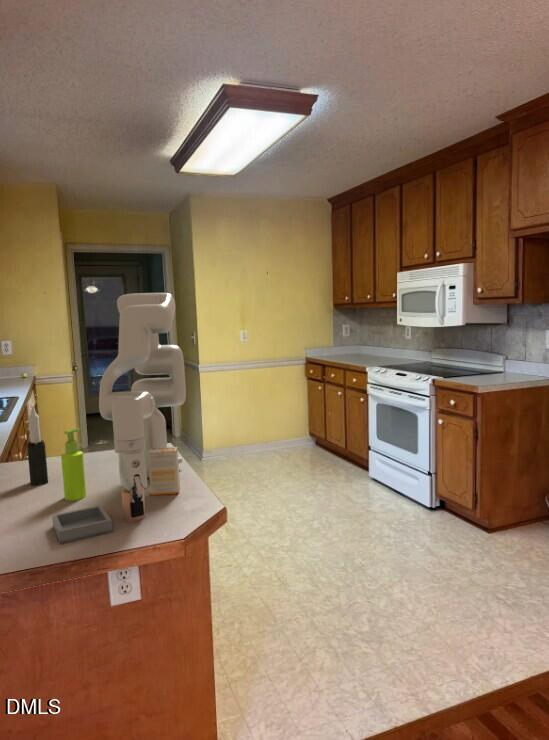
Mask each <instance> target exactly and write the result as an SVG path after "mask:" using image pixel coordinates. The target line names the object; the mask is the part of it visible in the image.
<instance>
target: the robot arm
mask: <svg viewBox="0 0 549 740" xmlns="http://www.w3.org/2000/svg"><path fill="white" fill-rule="evenodd" d="M116 306H117V309H118V310H117V311H118V313H119V325H118V327H119V328H118V351H117V352H118V353H117V356H116V358H115V359H114V360H113V361H112V362H110V364H109V365H108V366H107V368H106V369H105V371H104V373H103V375H102V377H101V379H100V385H99V393H98V394H99V396H98V399H99V401H98V409H99V410H98V411H99V413H100V416H101V417H102V418H103V419H104V420H107V421H112V428H113V443H114V453H116V454H118V470H119V481H120V483H121V485H122V486H123V489H124V488H126V489H127V490H128V491H130V496H131V502H130V509H131V517H132V518H134V517H138V516H143V515H144V507H143V495H142V494H143V490H142V487H143V488H144V490H145V489H147V488H148V486H149V485H148V479H150V477H149V464H148V451H149V450H150V449H151V448H167V447H168V441H167V440H168V439H167V438H168V437H167V423H166V418H165V416H164V414H163V413H162V411H160V410H159V409H158V408H164V407H165V408H166V407H167V408H168V407H178V406H182V405H184V404H185V402H186V399H187V391H186V390H187V389H186V388H187V387H186V386H187V385H186V373H185V372H186V371H185V362H184V361H185V360H184V359H185V358H184V354H183V351H182V348H180V346H178V345H175V344H160V341H159V340H160V339H159V338H160V337H159V334H167V333H169V332H170V331H171V329H172V327H173V323H174V318H175V314H176V301H175V298H174V297H173V295H172V294H171V293H168V292H142V293H141V292H140V293H139V292H137V293H126V294H123V295H120V296H118V298H117V299H116ZM133 369H134V371H135V372H136V373H137V374H139V375H142V376H145V375H146V376H148V375H149V376H153V375H155V376H158V375H168V376H169V377H153V378H152V377H150V378H141V379H138V380H136V381H134V382H133V384H132V386H131V388H130V389H131V390H130V391H115V392H114V391H113V386H114V384H115V382H116V381H117V380H118V379H119V378H120V377H122V375H124V374H126V373H127V372H128V371H131V370H133ZM112 391H113V392H112ZM182 463H183V458H182V457H178V465H179V464H182ZM133 487H135V488H136V489H135V490H133V489H132V488H133ZM133 492H136V494H135V495H133Z"/></svg>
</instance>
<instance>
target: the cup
mask: <svg viewBox="0 0 549 740" xmlns="http://www.w3.org/2000/svg"><path fill="white" fill-rule="evenodd" d="M132 489H133V490H135V489H136V488H135V487H133V488H132ZM142 490H143V494H142V495H143V507H144V515H143V516H138V517H134V518H132V517H131V509H130V502H131V496H130V491H128V490H127V489H126V488H124V487H123V488H122V489H121V491H120V492H121V503H122V504H121V505H122V515H123V518H122V519H123V521H124V522H129V523H134V522H139V521H142V520H144V519H145V518H146V517H147V514H146V503H145V502H146V501H145V489H144V488H143V487H142ZM135 494H136V492H133V495H135ZM145 516H146V517H145ZM143 518H144V519H143Z"/></svg>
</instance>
